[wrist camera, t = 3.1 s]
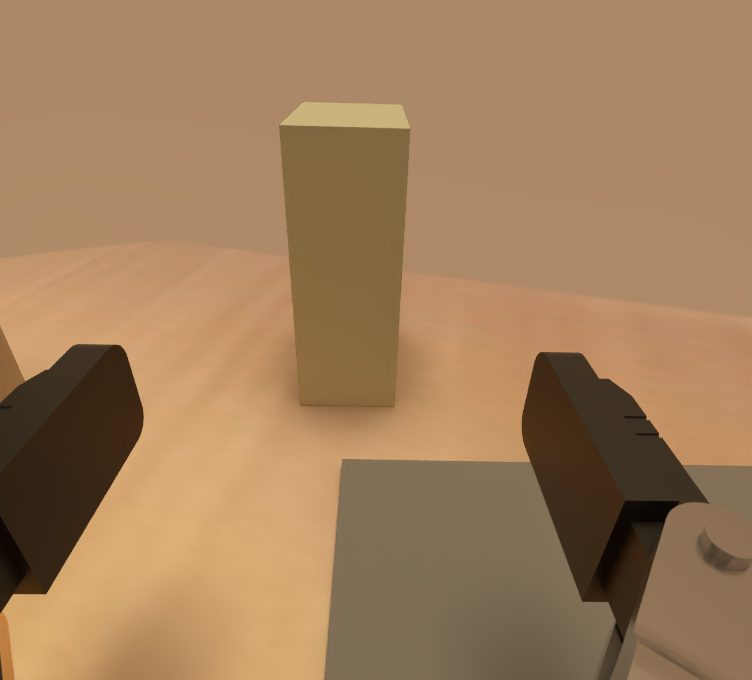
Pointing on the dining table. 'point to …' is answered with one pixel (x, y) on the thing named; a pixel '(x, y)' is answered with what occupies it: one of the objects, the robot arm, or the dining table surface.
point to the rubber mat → (466, 574)
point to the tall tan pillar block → (346, 247)
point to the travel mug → (8, 369)
